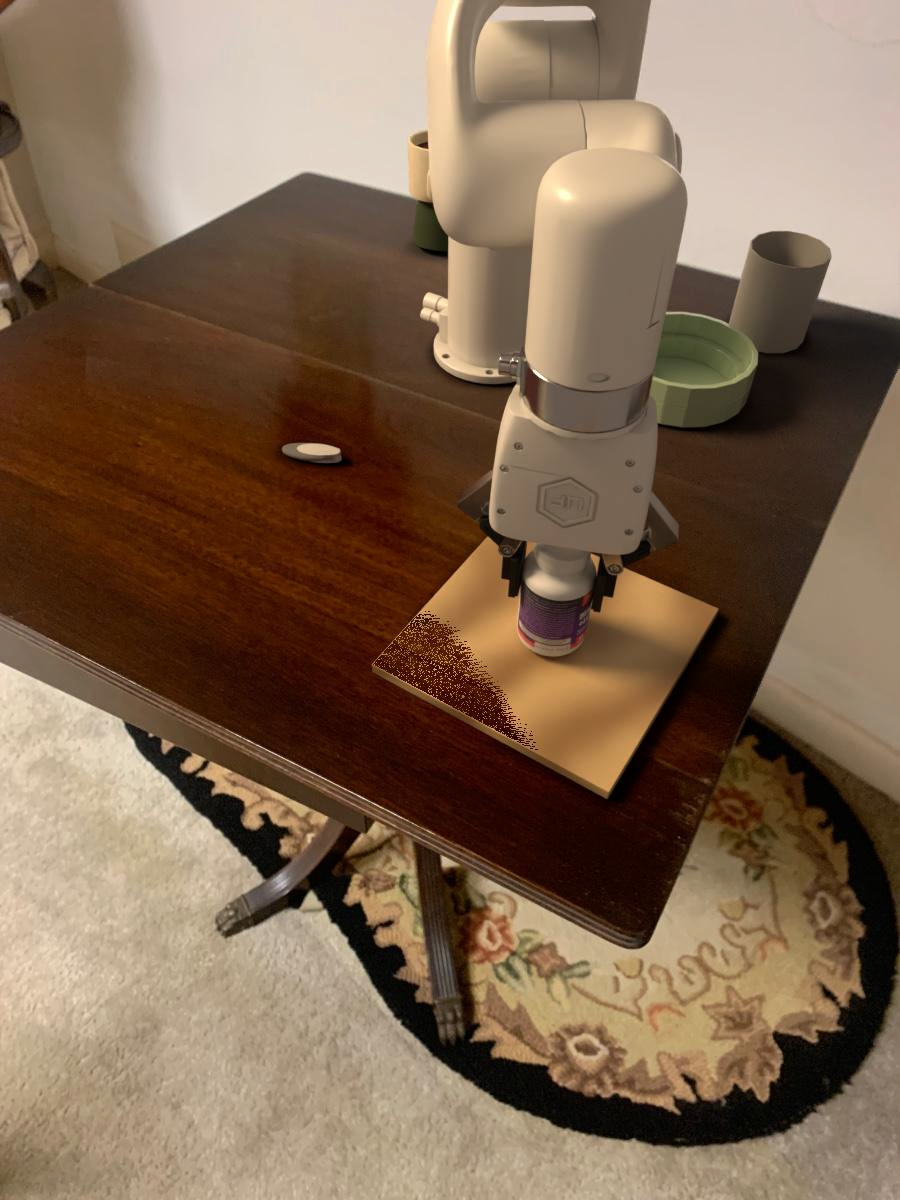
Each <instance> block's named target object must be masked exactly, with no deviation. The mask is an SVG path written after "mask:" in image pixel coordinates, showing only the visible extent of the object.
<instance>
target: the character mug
mask: <svg viewBox="0 0 900 1200" xmlns="http://www.w3.org/2000/svg"><path fill="white" fill-rule="evenodd" d="M407 157H408V158H407V164H408V165H407V168H408V169H407V170H408V190H409V195H410V196H411V197H412V198H414V200H417V203H416V206H415V216H414V223H413V234H412V242H413V243H414V245H416V246H417V247H420V248H421V249H427V250H431V251H439V252H448V235H447V234H446V233H445V231H444V230H443V229H442V227H441V225H440V223H439V221H438V219H437V216H436V213H435V209H434V205H433V200H432V192H431V184H430V170H429V149H428V129H422V130H418V131H416V132H414V133H411V134H410V135H409V136H408V137H407Z"/></svg>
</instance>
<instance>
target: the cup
mask: <svg viewBox="0 0 900 1200" xmlns="http://www.w3.org/2000/svg"><path fill="white" fill-rule="evenodd" d="M832 257H833V256H832V251H831V248H830V246H828V245H827V244H826V243H825V242H824V241H822V240H821V239H819V238H816V237H814V236H811V235H810V234H807V233H802V232H797V231H792V230H770V231H765V232H761V233H758V234H757V235H756V236H754V237H753V238H752V239H751V240H750V242H749V246H748V249H747V254H746V257H745V261H744V265H743V268H742V272H741V276H740V280H739V284H738V288H737V290H736V295H735V299H734V302H733V306H732V310H731V314H730V318H729V322H728V324H730V325H732V326H734V327H736V328H737V329H739V330H741V331H742V332H743V333H744V334H745V335H746V336H747V337H748V338H750V339H751V340H752V342H753V344H754V346H755V348H756V349H757V351H758V353H759V352H760V353H764V354H785V353H788V352H791V351H794V350H797V349H798V348H799V347H800V346H801V345H802V344H803V342H804V341H805V337H806V334H807V331H808V328H809V326H810V322H811V319H812V316H813V313H814V311H815V307H816V304H817V301H818V298H819V295H820V292H821V289H822V287H823V284H824V281H825V277H826V275H827V272H828V270H829V267H830V263H831V260H832Z"/></svg>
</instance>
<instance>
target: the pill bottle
mask: <svg viewBox="0 0 900 1200" xmlns="http://www.w3.org/2000/svg"><path fill="white" fill-rule="evenodd" d="M591 554H592V552H589V551H583V550H576V549H570V548H564V547H557V546H551V545H546V544H540V543H535V545H534V549H533V550H532V551H531V552H530V553H529V554H528V555H527V557H526V558H525V560H524V563H523V568H522V576H521V587H520V598H519V608H518V618H517V632H518V635H519V638H520V640H521V641H522V643H523V644H524V645H525V646H526V647H527V648H529V649H530V650H531V651H533V652H535V653H537V654H540V655H544V656H562V655H566V654H569V653H571V652H573V651H575V650H576V649H577V648H578V647H579V646H580V645H581V644H582V642H583V640H584V638H585V634H586V630H587V625H588V620H589V615H590V609H591V604H592V599H593V593H594V588H595V583H596V567H595V564H594V562H593V560H592V558H591Z"/></svg>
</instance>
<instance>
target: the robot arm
mask: <svg viewBox="0 0 900 1200" xmlns="http://www.w3.org/2000/svg"><path fill="white" fill-rule="evenodd" d="M652 5H653V0H437V2H436V5H435V8H434V11H433V15H432V17H431V23H430V29H429V35H428V41H427V48H426V58H425V59H426V62H425V64H426V65H425V90H426V95H425V96H426V116H427V117H426V118H427V121H426V122H427V130H428V149H429V170H430V184H431V192H432V200H433V205H434V209H435V213H436V216H437V219H438V221H439V223H440V225H441V227H442V229H443V230H444V231H445V233H446V234H447V235H448V251H447V258H448V259H447V262H448V263H447V298H445V296H442V295H439V294H436V293H433V292H430V291H429V292H427V293H426V294H425V295H424V297H423V300H422V309H421V310H420V314H419V317H420V320H422V321H424V322H427V323H430V324H435V325H436V326H437V328H438V332H437V333H436V335H435V337H434V339H433V356H434V359H435V361H436V363H437V364H438V365H439V367H440V368H442V369H443V370H444V371H446V373H448V374H450V375H452V376H453V377H456V378H458V379H461V380H463V381H467V382H471V383H476V384H481V385H482V384H484V385H502V384H511V383H516V384H515V385H514V387H513V388H512V390H511V393H510V394H509V396H508V399H507V401H506V404H505V407H504V410H503V414H502V418H501V422H500V426H499V431H498V435H497V441H496V446H495V447H496V448H495V455H494V462H493V468H491V470H489V471H488V472H486V473H485V474H483V475H482V476H481V477H479V478H478V479H476V480H475V481H474V482H473V483H471V484H470V485H468V486H467V487H466V488H464V489H463V490H462V491H461V492H460V495H459V498H458V501H457V508H458V509H459V510H460V511H461V512H462V513H463V514H465V515H466V516H467V517H468V518H469V519H471V520H472V521H473V522H474V523H475V522H476V523H477V524H479V525H478V526H479V527H478V528H479V529H480V530H481V531H482V532H483V533H484V534H485V536H486V537H489V538H490V539H491V540H492V541H493V542H495V543H496V544H497V545H498V546H499V548H498V552H499V554H500V555H502V556H503V560H502V573H501V579H505V580H509V588H508V597H512V598H515V596H517V597H518V594H519V590H520V586H521V576H522V568H523V563H524V560H525V558H526V548H527V541H528V542H534V543H540V544H546V545H551V546H557V547H564V548H570V549H576V550H583V551H589V552H591V553H596V554H600V555H599V557H600V560H599V565H598V570H597V576H596V583H595V588H594V593H593V599H592V605H591V609H592V610H593V612H599V613H600V611H601V606H602V601H603V596H605V597H611V598H613V595H614V590H615V585H616V581H617V576H618V575H620V574H622V573H623V571H624V568H627V567H628V566H630V565H633V564H636V563H637V562H639V561H642V560H643V559H646V558H647V557H649V556H650V554H651V553H652V552H654V551H655V552H657V551H660V550H662V549H663V550H664V549H665V548H667V547H671V546H673V545H675V544H677V543H678V542H679V539H680V527H681V526H680V524H679V522H678V521H677V520H676V519H675V517H674V516H673V515H672V514H671V512H670V511H669V510H668V509H667V508H666V507H665V505H664V504H663V502H662V501H661V499H660V498H658V496H657V495H656V494H655V492H654V491H653V483H654V478H655V477H654V476H655V472H656V471H655V470H656V462H657V453H658V438H659V437H658V436H659V425H658V424H659V423H657V408H656V403H655V401H654V399H653V397H652V396H651V395H650V389H651V384H652V379H653V374H654V370H655V363H656V358H657V354H658V349H659V344H660V339H661V334H662V329H663V324H664V319H665V315H666V312H667V310H668V305H669V300H670V296H671V291H672V287H673V281H674V276H675V271H676V267H677V261H678V257H679V253H680V252H679V251H680V247H681V244H682V243H681V242H682V237H683V233H684V227H685V224H686V223H685V222H686V217H687V210H688V205H689V204H688V201H689V200H688V199H689V198H688V190H687V185H686V182H685V180H684V179H683V176H682V167H683V150H682V148H683V147H682V142H681V138H680V136H679V133H678V132H675V129H674V125H673V122H672V120H671V118H670V116H669V114H668V113H667V112H666V111H665V110H664V109H663V108H662V107H661V106H659V105H657V104H655V103H654V102H651V101H646V100H640V99H637V98H638V93H639V92H638V91H639V86H640V80H641V77H642V76H641V75H642V70H643V69H642V68H643V62H644V55H645V51H646V50H645V49H646V43H647V37H648V31H649V24H650V19H651V18H650V17H651V12H652ZM502 7H503V8H579V7H581V8H583V7H585V8H588V9H589V10H590V11H591V17H590V19H561V20H560V19H559V20H557V19H556V20H553V19H552V20H545V19H515V20H514V19H513V20H510V19H509V20H507V19H506V20H489V19H490V18H491V17H492V16H493V14H494V13H495V12H496V11H497V10H498V9H499V8H502ZM645 526H648V527H647V529H645Z"/></svg>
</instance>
